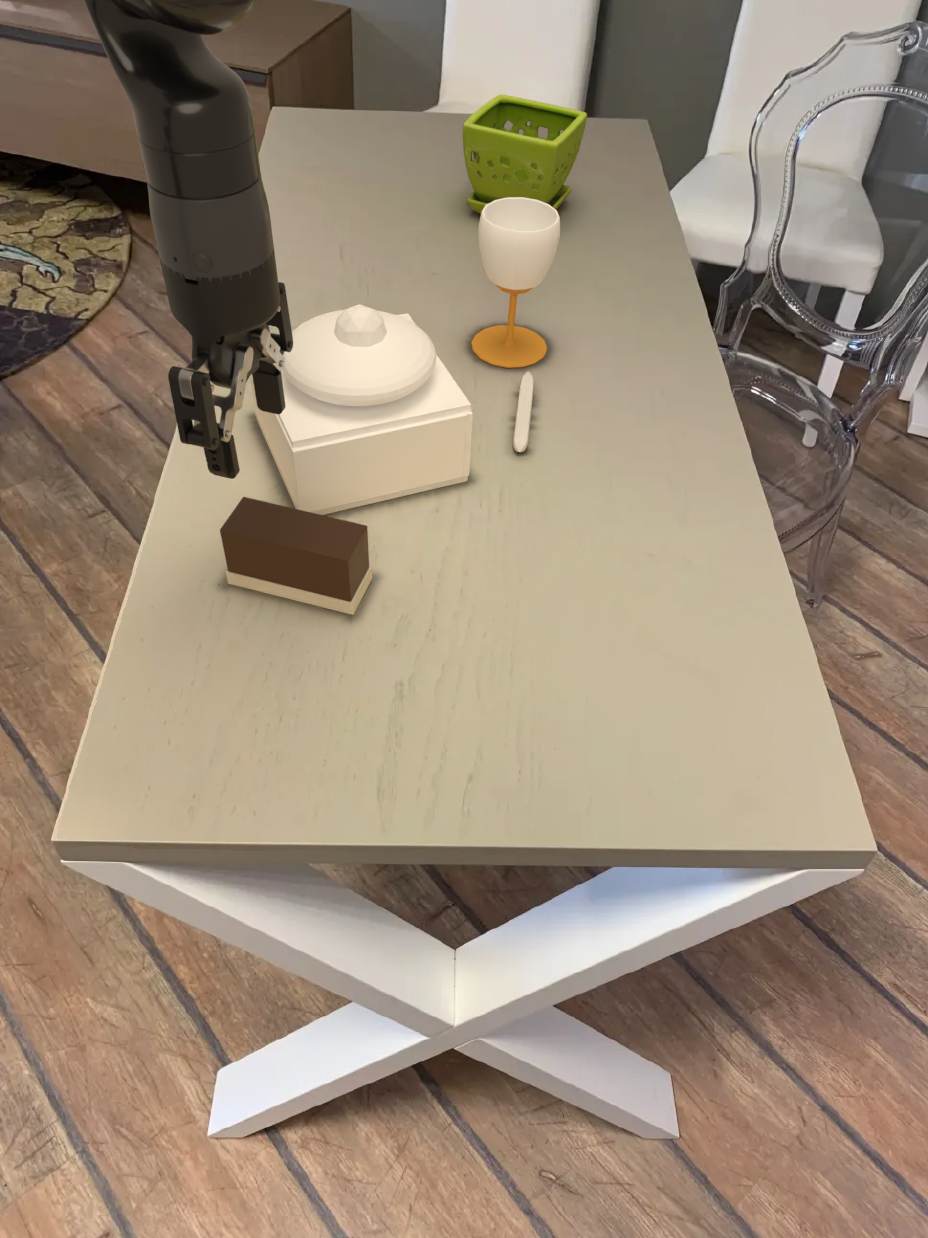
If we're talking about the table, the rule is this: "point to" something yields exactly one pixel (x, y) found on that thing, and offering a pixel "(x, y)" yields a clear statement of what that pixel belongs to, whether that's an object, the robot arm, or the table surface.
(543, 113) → the flower pot
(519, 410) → the cream rounded rod
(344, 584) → the brown block cream base
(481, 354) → the cup
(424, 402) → the white lidded box
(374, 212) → the table surface
